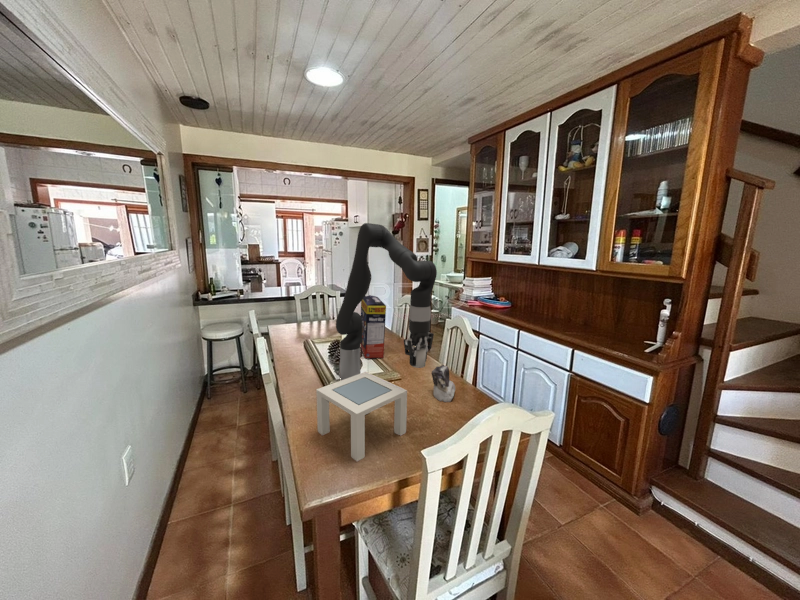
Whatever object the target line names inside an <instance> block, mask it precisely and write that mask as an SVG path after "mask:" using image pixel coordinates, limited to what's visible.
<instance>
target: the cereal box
mask: <svg viewBox="0 0 800 600" xmlns="http://www.w3.org/2000/svg"><path fill="white" fill-rule="evenodd" d="M386 311H387V305H386V304H385V303H384V302H383V301H382V300H381V299H380V298H379V297H378V296H376V295H370V294H369V295H365V297H364V298H363V299H362V301H361V302H360V316H361V318H362V323H363V328H362V341H361V347H360V350H361V351H362V354H363V356H364V358H365V359H366V360H372V359H373V360H377V359H376V358H378V359H384V356H385V355H384V354H385V337H386V336H385V335H386V331H385V330H386V316H387V315H386V314H387V313H386Z"/></svg>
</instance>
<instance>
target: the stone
mask: <svg viewBox="0 0 800 600" xmlns="http://www.w3.org/2000/svg"><path fill="white" fill-rule="evenodd" d="M431 378H432V383H433V397H434V398H435V399H436V400H438V401H439V402H442V401H443V402H444V403H451V402H452V400H453V398H454V395H455V391H456V385H455V383H454V382H453V381H451V380H450V369H449V367H448V366H447V365H444V364H442V365H439V366H435V368H434V369H432V370H431Z"/></svg>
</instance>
